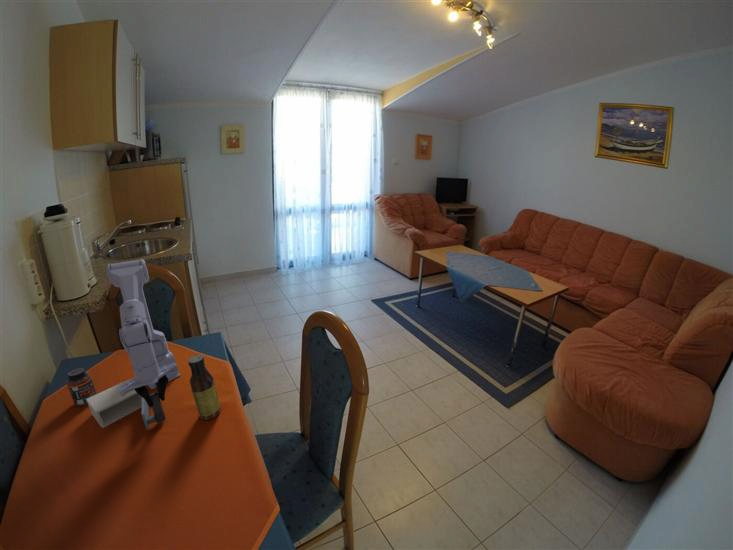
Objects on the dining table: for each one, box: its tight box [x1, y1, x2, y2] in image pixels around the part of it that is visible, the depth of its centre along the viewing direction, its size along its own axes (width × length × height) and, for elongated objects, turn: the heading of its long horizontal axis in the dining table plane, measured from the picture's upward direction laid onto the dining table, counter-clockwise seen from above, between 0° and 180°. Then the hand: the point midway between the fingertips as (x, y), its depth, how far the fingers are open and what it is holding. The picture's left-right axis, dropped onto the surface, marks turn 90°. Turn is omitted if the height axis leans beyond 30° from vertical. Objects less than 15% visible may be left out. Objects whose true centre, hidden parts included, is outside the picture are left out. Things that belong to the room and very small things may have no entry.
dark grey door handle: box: [141, 391, 166, 430], centre depth 102 cm, size 12×5×10 cm, turn 32°
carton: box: [86, 378, 142, 429], centre depth 105 cm, size 12×9×6 cm
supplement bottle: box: [66, 367, 98, 407], centre depth 108 cm, size 6×6×11 cm
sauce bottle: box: [187, 354, 221, 421], centre depth 100 cm, size 7×6×20 cm
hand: (156, 402), depth 98 cm, fingers open, 3 cm apart
